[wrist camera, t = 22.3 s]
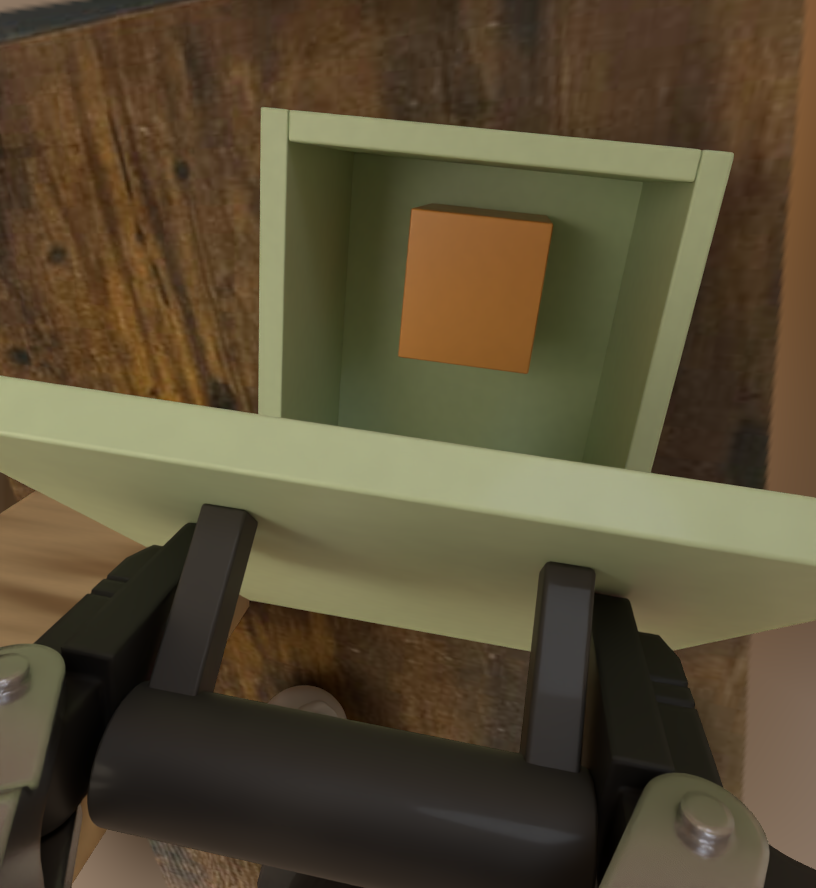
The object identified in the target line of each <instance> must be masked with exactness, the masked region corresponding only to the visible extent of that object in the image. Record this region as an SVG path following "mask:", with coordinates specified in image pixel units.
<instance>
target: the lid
mask: <svg viewBox="0 0 816 888" xmlns="http://www.w3.org/2000/svg"><path fill="white" fill-rule="evenodd" d="M0 472H1V473H4V474H5V475H7V476H9V477H11V478H13V479H15V480H17V481H19V482H21V483H23V484H25V485H27V486H29V487H31V488H33V489H34V490H36V491H38V492H40V493H42V494H44V495H46V496H48V497H50V498H52V499H54V500H56V501H58V502H60V503H62V504H64V505H66V506H68V507H70V508H71V509H73V510H75V511H77V512H79V513H81V514H83V515H85V516H87V517H89V518H91V519H93V520H95V521H97V522H99V523H101V524H103V525H105V526H107V527H108V528H110V529H112V530H114V531H116V532H118V533H120V534H122V535H124V536H126V537H128V538H130V539H132V540H134V541H136V542H138V543H140V544H142V545H143V546H145V547H149V546H152V545H159V546H164V545H165V544H166V543H167V542H168V541H169V540H170V539H171V538H172V537H173V536H174V535H175V534H176V533H177V532H178V531H179V530H180V529H181V528H182V527H183V526H184V525H185V524H187V523H196V527H195V530H194V534H193V537H192V540H191V544H190V547H189V550H188V554H187V557H186V560H185V564H184V567H183V570H182V574H181V577H180V580H179V584H178V587H177V590H176V594H175V597H174V600H173V604H172V607H171V610H170V614H169V617H168V620H167V624H166V627H165V630H164V634H163V637H162V640H161V644H160V647H159V650H158V654H157V657H156V660H155V664H154V667H153V670H152V674H151V677H150V680H149V681H145V682H142V683H140V684H138V685H137V686H135V687H134V688H133V689H132V690H131V691H130V692H129V693H128V694H127V695H126V696H125V698H124V699H123V700H122V701H121V703H120V704H119V706H118V707H117V709H116V710H115V712H114V714H113V716H112V717H111V719H110V721H109V723H108V725H107V727H106V729H105V731H104V734H103V736H102V738H101V741H100V743H99V746H98V749H97V752H96V755H95V758H94V761H93V765H92V769H91V773H90V778H89V784H88V793H87V806H88V813H89V816H90V818H91V821H92V822H93V823H94V824H95V825H96V826H98V827H100V828H104V829H108V830H113V831H117V832H121V833H126V834H130V835H135V836H140V837H144V838H148V839H152V840H157V841H161V842H165V843H170V844H174V845H179V846H183V847H187V848H192V849H196V850H201V851H205V852H209V853H214V854H218V855H223V856H227V857H231V858H236V859H240V860H245V861H249V862H253V863H258V864H262V865H267V866H271V867H275V868H280V869H284V870H289V871H293V872H297V873H302V874H306V875H311V876H315V877H319V878H324V879H328V880H333V881H337V882H341V883H346V884H350V885H355V886H359V887H363V888H595V883H596V874H597V861H598V812H597V799H596V792H595V787H594V782H593V778H592V775H591V773H590V771H589V770H588V769H587V768H586V767H584V766H581V756H582V743H583V731H584V718H585V705H586V693H587V680H588V667H589V655H590V642H591V629H592V617H593V604H594V593H598V594H604V595H610V596H615V597H621V598H627V599H629V601H630V603H631V606H632V610H633V614H634V618H635V621H636V625H637V629H638V631H639V632H644V633H650V634H656V635H659V636H660V637H661V638H662V639H663V640H664V641H665V642H666V644H667V645H668V646H669V647H670V648H671V649H672V650H678V649H683V648H687V647H692V646H697V645H702V644H706V643H711V642H716V641H721V640H725V639H730V638H735V637H740V636H744V635H749V634H754V633H758V632H763V631H768V630H773V629H777V628H782V627H787V626H792V625H796V624H801V623H806V622H811V621H815V620H816V498H815V497H808V496H802V495H795V494H788V493H781V492H775V491H768V490H762V489H755V488H748V487H742V486H735V485H728V484H722V483H715V482H708V481H701V480H695V479H688V478H681V477H675V476H668V475H661V474H655V473H648V472H641V471H635V470H628V469H621V468H615V467H608V466H601V465H594V464H588V463H581V462H574V461H568V460H561V459H554V458H548V457H541V456H534V455H528V454H521V453H514V452H508V451H501V450H494V449H487V448H481V447H474V446H467V445H461V444H454V443H447V442H441V441H434V440H427V439H421V438H414V437H407V436H401V435H394V434H387V433H380V432H374V431H367V430H360V429H354V428H347V427H340V426H334V425H327V424H320V423H314V422H307V421H300V420H294V419H287V418H280V417H273V416H267V415H260V414H253V413H247V412H240V411H233V410H227V409H220V408H213V407H207V406H200V405H193V404H186V403H180V402H173V401H166V400H160V399H153V398H146V397H140V396H133V395H126V394H120V393H113V392H106V391H100V390H93V389H86V388H79V387H73V386H66V385H59V384H53V383H46V382H39V381H33V380H26V379H19V378H13V377H6V376H0ZM239 595H241V596H243V597H245V598H247V599H249V600H251V601H257V602H262V603H268V604H273V605H279V606H284V607H290V608H295V609H301V610H306V611H312V612H317V613H323V614H328V615H334V616H339V617H345V618H350V619H356V620H361V621H367V622H372V623H378V624H383V625H389V626H394V627H400V628H405V629H411V630H416V631H422V632H427V633H432V634H438V635H443V636H449V637H454V638H460V639H465V640H471V641H476V642H482V643H487V644H493V645H498V646H504V647H509V648H515V649H520V650H526V651H531V653H530V662H529V671H528V680H527V689H526V698H525V707H524V717H523V726H522V735H521V744H520V753H514V752H509V751H504V750H499V749H494V748H489V747H484V746H479V745H474V744H469V743H464V742H459V741H454V740H449V739H444V738H439V737H434V736H429V735H424V734H419V733H414V732H409V731H404V730H398V729H393V728H388V727H383V726H378V725H373V724H368V723H363V722H358V721H353V720H348V719H343V718H338V717H333V716H328V715H323V714H318V713H313V712H308V711H303V710H298V709H293V708H288V707H283V706H278V705H273V704H268V703H263V702H258V701H253V700H248V699H243V698H238V697H233V696H228V695H223V694H218V693H213V691H214V687H215V683H216V679H217V676H218V672H219V668H220V664H221V661H222V657H223V653H224V649H225V646H226V642H227V638H228V634H229V631H230V627H231V623H232V619H233V616H234V612H235V608H236V604H237V601H238V597H239Z"/></svg>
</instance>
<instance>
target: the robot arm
mask: <svg viewBox="0 0 816 888" xmlns="http://www.w3.org/2000/svg"><path fill="white" fill-rule="evenodd" d="M195 527H196V523H187V524H185V525H184V526H183V527H182V528H181V529H180V530H179V531H178V532H177V533H176V534H175V535H174V536H173V537H172V538H171V539H170V540H169V541H168V542H167V543H166V544H165V545H164V546H159V545H152V546H149V547H147V548H145V549H143V550H141V551H139V552H137V553H135V554H133V555H131V556H129V557H126V558H125V559H124V560H123V561H122V562H121V563H120V564H119V565H118V566H117V567H116V568H114V569H113V570H112V571H111V572H110V573H109V574H108V575H107V578H106V579H103V580H101V581H100V582H99V583H98V584H97V585H96V586H95V587H94V588H93V589H92V590H91V593H90V594H88V593H87V594H86V595H85V596H84V597H83V598H82V599H81V600H80V601H79V602H78V603H77V604H75V605H74V606H73V607H72V608H71V609H70V610H69V611H68V612H67V613H66V614H65V615H64V616H62V617H61V618H60V619H59V620H58V621H57V622H56V623H55V624H54V625H53V626H52V627H51V628H49V629H48V630H47V631H46V632H45V633H44V634H43V635H42V636H41V637H40V638H39V639H38V640H36V641H35V642H34V643H33V644H14V645H8V646H4V647H0V888H71V886H72V881H73V875H74V868H75V862H76V856H77V850H78V843H79V837H80V831H81V824H82V814H83V813H82V804H81V802H82V800H83V799H84V798H85V796H86V795H87V793H88V784H89V778H90V773H91V769H92V765H93V761H94V758H95V755H96V752H97V749H98V746H99V743H100V741H101V738H102V736H103V734H104V731H105V729H106V727H107V725H108V723H109V721H110V719H111V717H112V716H113V714H114V712H115V710H116V709H117V707H118V706H119V704H120V703H121V701H122V700H123V699H124V698H125V696H126V695H127V694H128V693H129V692H130V691H131V690H132V689H133V688H134V687H135V686H137V685H138V684H140V683H142V682H145V681H149V680H150V677H151V674H152V670H153V667H154V664H155V660H156V657H157V654H158V650H159V647H160V644H161V640H162V637H163V634H164V630H165V627H166V624H167V620H168V617H169V614H170V610H171V607H172V604H173V600H174V597H175V594H176V590H177V587H178V584H179V580H180V577H181V574H182V570H183V567H184V564H185V560H186V557H187V554H188V550H189V547H190V544H191V540H192V537H193V534H194V530H195ZM581 766H584V767H586V768H587V769H588V770H589V771H590V773H591V775H592V778H593V782H594V787H595V792H596V799H597V812H598V861H597V874H596V883H595V888H816V870H815V869H812V868H810V867H808V866H806V865H804V864H802V863H800V862H798V861H796V860H794V859H792V858H790V857H788V856H786V855H784V854H783V853H781V852H780V851H778V850H776V849H775V848H773V847H772V846H770V845H769V844H768V841H767V838H766V835H765V832H764V830H763V829H762V827H761V825H760V823H759V822H758V820H757V819H756V817H755V816H754V815H753V813H752V812H751V811H750V810H749V809H748V808H747V807H746V806H745V805H744V804H743V803H742V802H741V801H740V800H739V799H738V798H737V797H735V796H734V795H733V794H731V793H730V792H728V791H727V790H726V789H724V788H723V785H722V783H721V780H720V777H719V774H718V771H717V768H716V765H715V762H714V759H713V756H712V753H711V750H710V747H709V744H708V741H707V738H706V735H705V732H704V729H703V726H702V723H701V721H700V718H699V715H698V712H697V709H695V703H694V700H693V697H692V694H691V691H690V688H688V682H687V679H686V676H685V673H684V670H683V667H682V664H681V661H680V659H679V657H678V656H677V655H676V654H675V653H674V652H673V650H672V649H671V648H670V647H669V646H668V645H667V644H666V642H665V641H664V640H663V639H662V638H661V637H660V636H659V635H656V634H650V633H644V632H639V631H638V629H637V625H636V621H635V618H634V614H633V610H632V606H631V603H630V601H629V599H627V598H621V597H615V596H610V595H604V594H598V593H594V604H593V617H592V629H591V642H590V655H589V667H588V680H587V693H586V705H585V718H584V731H583V743H582V756H581Z"/></svg>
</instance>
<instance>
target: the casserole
mask: <svg viewBox="0 0 816 888" xmlns="http://www.w3.org/2000/svg"><path fill="white" fill-rule="evenodd" d="M257 886H258V888H363V887H359V886H355V885H350V884H346V883H341V882H337V881H333V880H328V879H324V878H319V877H315V876H311V875H306V874H302V873H297V872H293V871H289V870H284V869H280V868H275V867H271V866H267V865H262V867H261V871H260V874H259V878H258V882H257Z"/></svg>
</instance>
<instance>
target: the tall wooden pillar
mask: <svg viewBox="0 0 816 888" xmlns="http://www.w3.org/2000/svg"><path fill="white" fill-rule="evenodd" d="M145 548H147V547H145V546H143V545H142V544H140V543H138V542H136V541H134V540H132V539H130V538H128V537H126V536H124V535H122V534H120V533H118V532H116V531H114V530H112V529H110V528H108V527H107V526H105V525H103V524H101V523H99V522H97V521H95V520H93V519H91V518H89V517H87V516H85V515H83V514H81V513H79V512H77V511H75V510H73V509H71V508H70V507H68V506H66V505H64V504H62V503H60V502H58V501H56V500H54V499H52V498H50V497H48V496H46V495H44V494H42V493H40V492H38V491H35V492H33V493H32V494H30V495H28V496H27V497H25V498H24V499H22V500H21V501H19V502H18V503H16V504H14V505H13V506H11V507H10V508H8V509H7V510H5V511H4V512H2V513H0V647H4V646H8V645H14V644H33V643H34V642H35V641H36V640H38V639H39V638H40V637H41V636H42V635H43V634H44V633H45V632H46V631H47V630H48V629H49V628H51V627H52V626H53V625H54V624H55V623H56V622H57V621H58V620H59V619H60V618H61V617H62V616H64V615H65V614H66V613H67V612H68V611H69V610H70V609H71V608H72V607H73V606H74V605H75V604H77V603H78V602H79V601H80V600H81V599H82V598H83V597H84V596H85V595H86V594H87V593H88V594H90V593H91V590H92V589H93V588H94V587H95V586H96V585H97V584H98V583H99V582H100V581H101V580H103V579H106V578H107V575H108V574H109V573H110V572H111V571H112V570H113V569H114V568H116V567H117V566H118V565H119V564H120V563H121V562H122V561H123V560H124V559H125V558H126V557H129V556H131V555H133V554H135V553H137V552H139V551H141V550H143V549H145ZM248 607H249V599H247V598H245V597H243V596H241V595H239V597H238V601H237V604H236V608H235V612H234V616H233V619H232V623H231V627H230V631H229V634H228V638H227V640H228V639H229V637H230V636H231V634H232V632H233V631H234V629H235V628H236V626H237V625H238V623H239V621H240V620H241V618H242V617H243V615H244V614H245V612H246V610H247V609H248ZM81 804H82V813H83V814H82V824H81V831H80V837H79V843H78V850H77V856H76V862H75V868H74V875H73V881H72V883H73V882H74V880H75V879H76V877H77V876H78V874H79V872H80V871H81V869H82V868H83V866H84V865H85V863H86V861H87V860H88V858H89V857H90V855H91V854H92V852H93V850H94V849H95V847H96V846H97V844H98V843H99V841H100V840H101V838H102V836H103V835H104V833H105V832H106V830H107V829H104V828H100V827H98V826H96V825H95V824H94V823H93V822H92V821H91V818H90V816H89V813H88V806H87V795H86V796H85V798H84V799H83V800H82V802H81Z"/></svg>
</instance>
